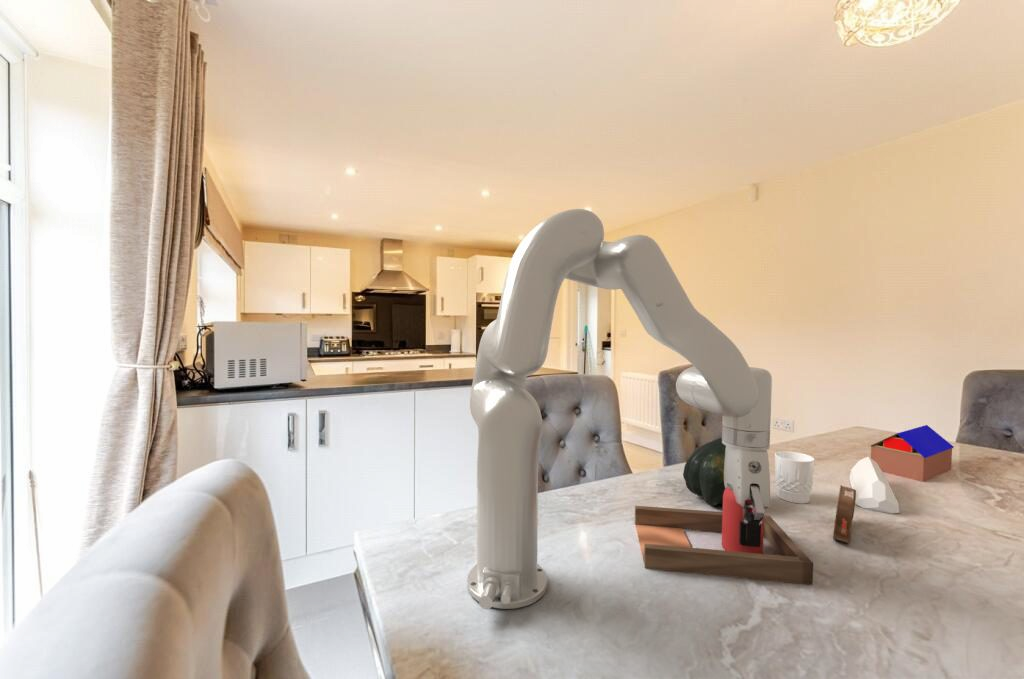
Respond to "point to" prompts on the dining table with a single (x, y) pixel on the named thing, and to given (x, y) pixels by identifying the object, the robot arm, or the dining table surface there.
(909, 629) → the dining table surface
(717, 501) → the squash
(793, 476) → the white cup
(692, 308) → the robot arm
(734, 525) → the beer can
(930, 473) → the house
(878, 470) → the crystal
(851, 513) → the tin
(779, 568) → the frame
